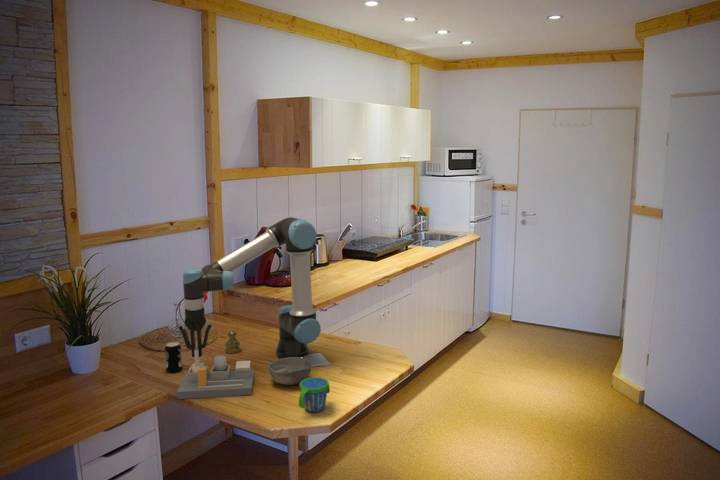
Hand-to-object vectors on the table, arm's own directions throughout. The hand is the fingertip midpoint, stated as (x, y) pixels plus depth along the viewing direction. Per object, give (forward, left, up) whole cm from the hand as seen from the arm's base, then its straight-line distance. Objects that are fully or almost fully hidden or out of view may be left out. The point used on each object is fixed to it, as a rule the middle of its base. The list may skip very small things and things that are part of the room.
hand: (197, 364), depth 232 cm
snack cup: (-46, +28, -9) cm, 55 cm away
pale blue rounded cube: (-9, 0, -3) cm, 9 cm away
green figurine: (-10, -38, -9) cm, 40 cm away
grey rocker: (-18, 0, -2) cm, 18 cm away
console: (-8, +4, -9) cm, 13 cm away
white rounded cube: (0, 0, -5) cm, 5 cm away
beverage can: (+13, -17, -9) cm, 23 cm away
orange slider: (-3, +9, -6) cm, 11 cm away
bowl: (-37, +2, -9) cm, 38 cm away
